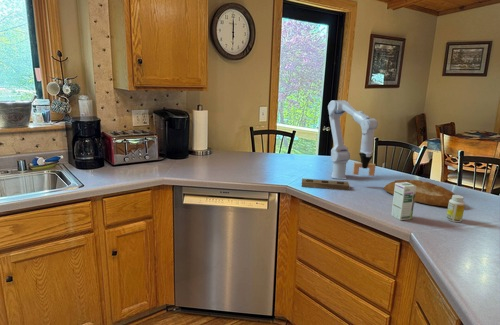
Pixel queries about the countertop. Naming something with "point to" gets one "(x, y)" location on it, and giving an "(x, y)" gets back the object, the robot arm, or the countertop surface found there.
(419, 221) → the countertop surface
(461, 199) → the supplement bottle
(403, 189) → the syrup box
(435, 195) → the bread
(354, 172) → the tan rectangular block
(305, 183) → the wooden board with holes
